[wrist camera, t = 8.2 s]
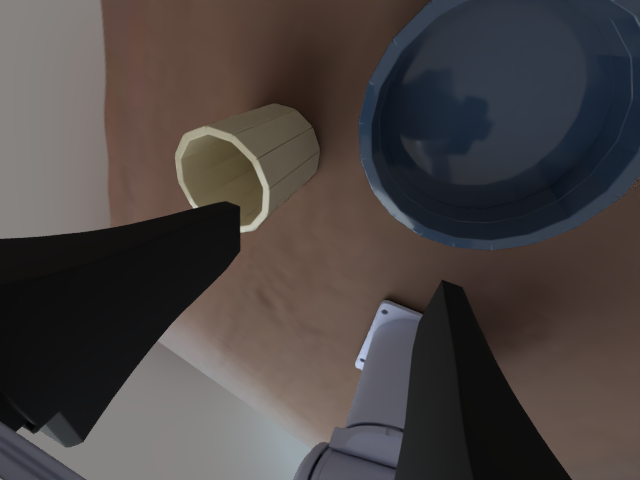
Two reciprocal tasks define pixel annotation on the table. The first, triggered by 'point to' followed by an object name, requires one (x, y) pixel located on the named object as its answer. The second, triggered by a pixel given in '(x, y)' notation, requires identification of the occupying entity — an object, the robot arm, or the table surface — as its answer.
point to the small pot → (248, 161)
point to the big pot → (505, 118)
